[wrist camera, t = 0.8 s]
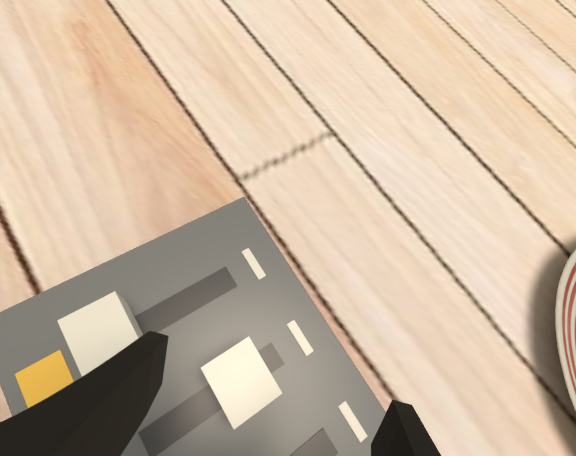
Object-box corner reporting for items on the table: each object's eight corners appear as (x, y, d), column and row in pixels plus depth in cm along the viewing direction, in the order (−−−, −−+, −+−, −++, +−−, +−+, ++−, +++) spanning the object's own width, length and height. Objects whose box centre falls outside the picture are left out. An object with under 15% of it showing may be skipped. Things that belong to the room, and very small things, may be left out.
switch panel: (156, 708, 18) (145, 769, 15) (4, 330, 23) (-24, 322, 20) (402, 463, 24) (426, 473, 22) (241, 213, 30) (244, 195, 27)
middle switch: (231, 423, 20) (233, 429, 18) (202, 369, 21) (200, 367, 19) (274, 391, 22) (282, 393, 19) (244, 341, 22) (248, 336, 20)
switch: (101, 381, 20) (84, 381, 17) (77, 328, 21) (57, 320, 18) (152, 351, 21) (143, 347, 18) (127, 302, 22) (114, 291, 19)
